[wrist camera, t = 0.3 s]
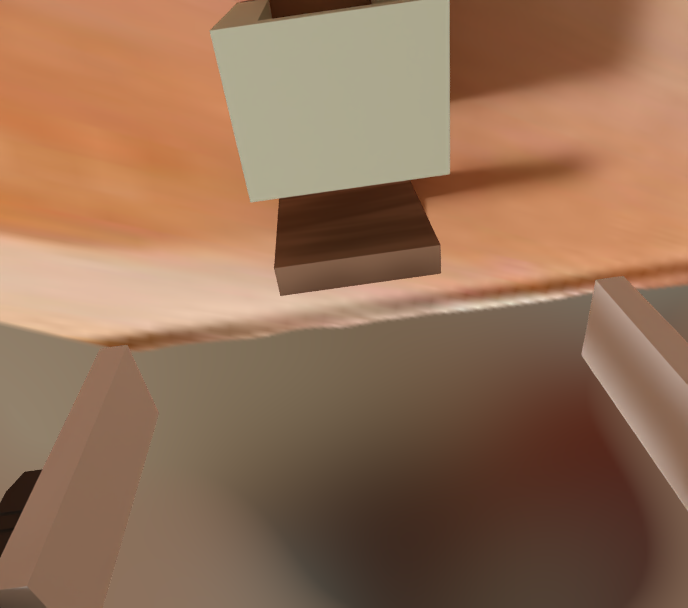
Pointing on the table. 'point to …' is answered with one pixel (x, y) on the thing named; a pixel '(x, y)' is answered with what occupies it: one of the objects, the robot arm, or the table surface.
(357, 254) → the wall
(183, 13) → the table surface
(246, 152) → the block
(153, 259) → the table surface
